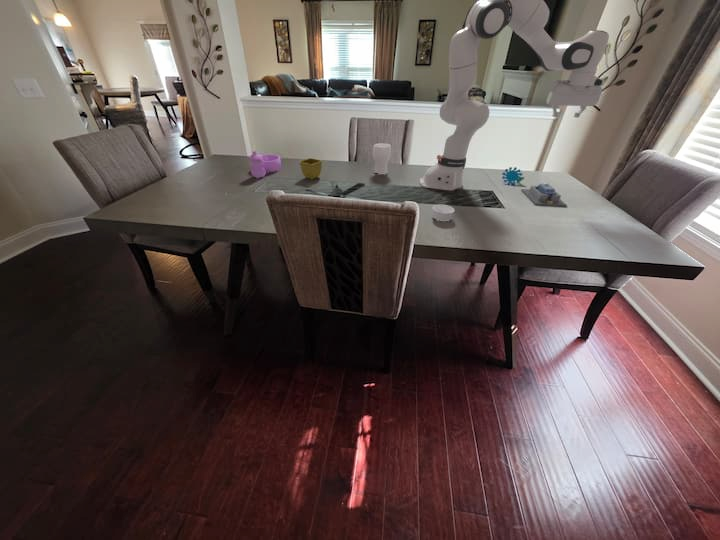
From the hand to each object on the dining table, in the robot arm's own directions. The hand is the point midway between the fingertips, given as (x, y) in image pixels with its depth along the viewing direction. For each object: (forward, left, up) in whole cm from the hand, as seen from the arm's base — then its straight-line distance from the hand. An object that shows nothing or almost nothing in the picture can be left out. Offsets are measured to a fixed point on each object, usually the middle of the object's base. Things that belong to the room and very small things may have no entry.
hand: (565, 117), depth 128 cm
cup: (-83, +13, -33) cm, 90 cm away
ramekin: (-55, -43, -33) cm, 77 cm away
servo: (-3, -14, -32) cm, 35 cm away
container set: (-150, +5, -33) cm, 153 cm away
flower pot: (-120, -2, -33) cm, 125 cm away
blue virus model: (-12, +6, -33) cm, 36 cm away
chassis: (-3, -15, -33) cm, 36 cm away
